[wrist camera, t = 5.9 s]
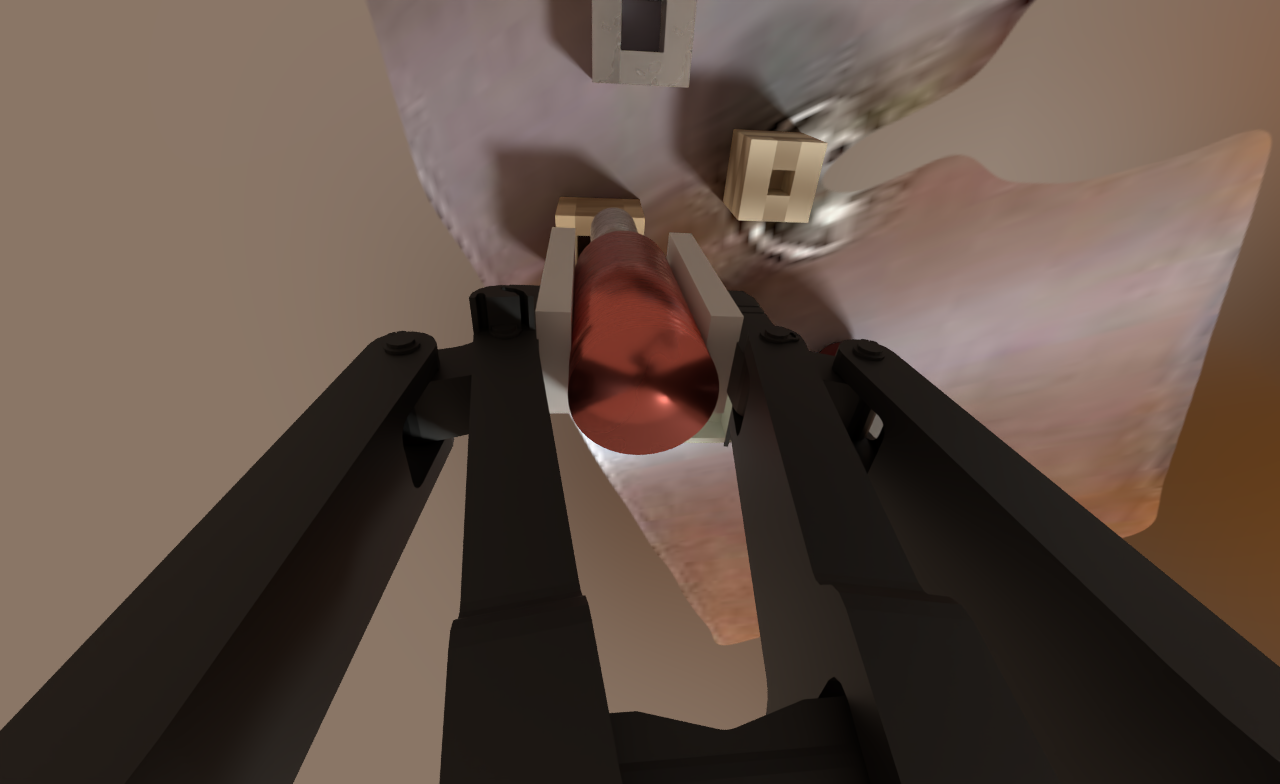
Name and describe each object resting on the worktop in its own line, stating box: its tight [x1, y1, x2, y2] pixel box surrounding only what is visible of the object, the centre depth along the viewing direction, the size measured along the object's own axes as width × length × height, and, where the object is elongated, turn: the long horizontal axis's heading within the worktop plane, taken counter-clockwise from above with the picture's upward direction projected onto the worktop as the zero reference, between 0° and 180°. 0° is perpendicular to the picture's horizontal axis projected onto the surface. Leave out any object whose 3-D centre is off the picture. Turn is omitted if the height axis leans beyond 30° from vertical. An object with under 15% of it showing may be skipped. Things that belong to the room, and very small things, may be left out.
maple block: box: [723, 129, 828, 223], centre depth 34 cm, size 5×5×5 cm
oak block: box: [555, 197, 645, 266], centre depth 36 cm, size 6×6×5 cm
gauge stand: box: [592, 0, 697, 88], centre depth 29 cm, size 6×6×3 cm
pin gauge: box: [568, 208, 719, 455], centre depth 16 cm, size 3×3×13 cm
